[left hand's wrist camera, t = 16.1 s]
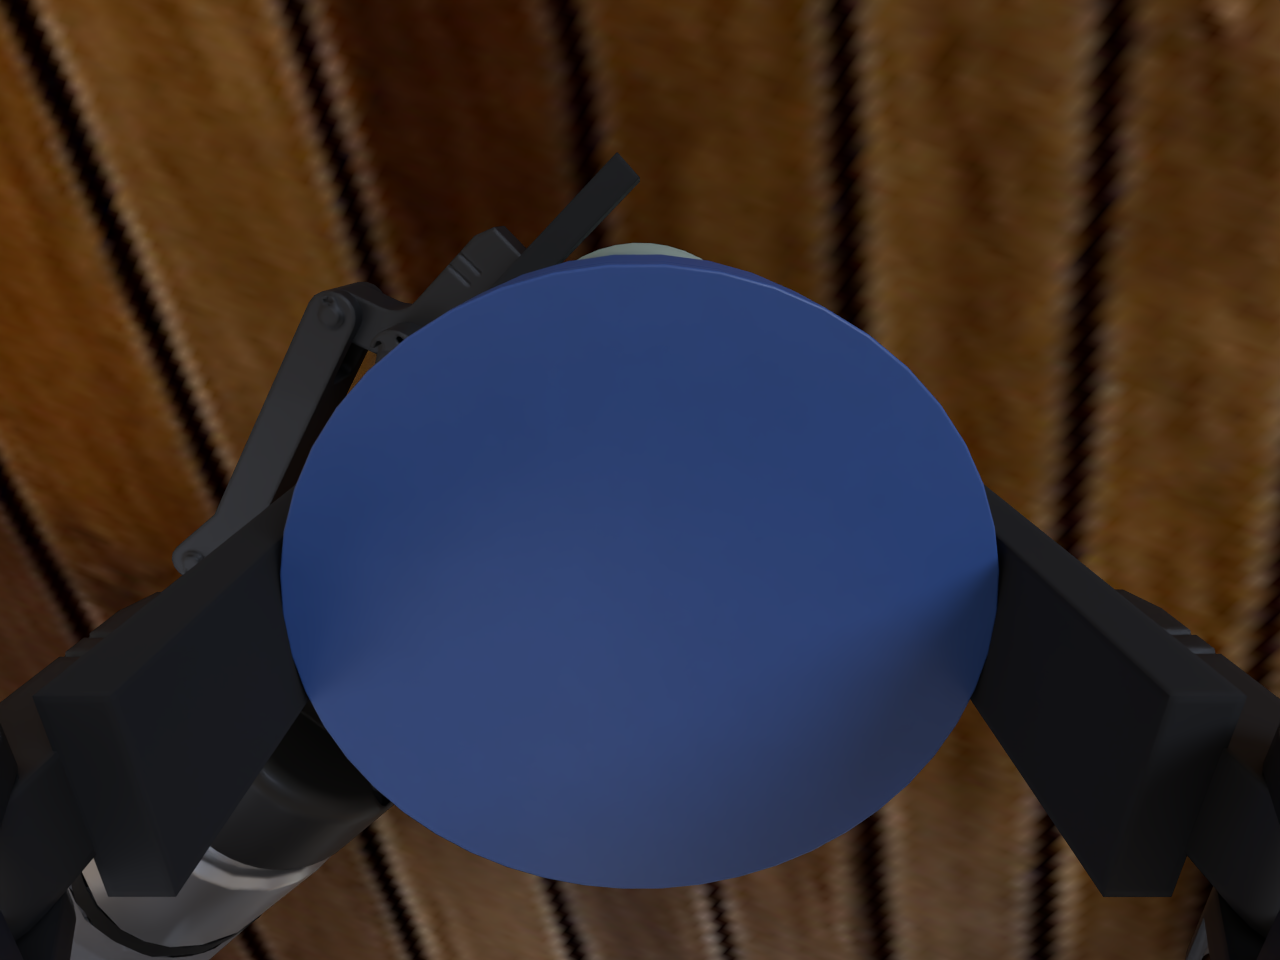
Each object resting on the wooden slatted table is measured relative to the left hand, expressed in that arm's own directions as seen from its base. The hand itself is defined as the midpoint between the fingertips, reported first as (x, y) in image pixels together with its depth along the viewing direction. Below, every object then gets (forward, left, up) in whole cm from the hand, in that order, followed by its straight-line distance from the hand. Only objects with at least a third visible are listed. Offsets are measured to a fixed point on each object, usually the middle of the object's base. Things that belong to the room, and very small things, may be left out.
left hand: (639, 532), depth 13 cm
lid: (0, 0, +3) cm, 3 cm away
